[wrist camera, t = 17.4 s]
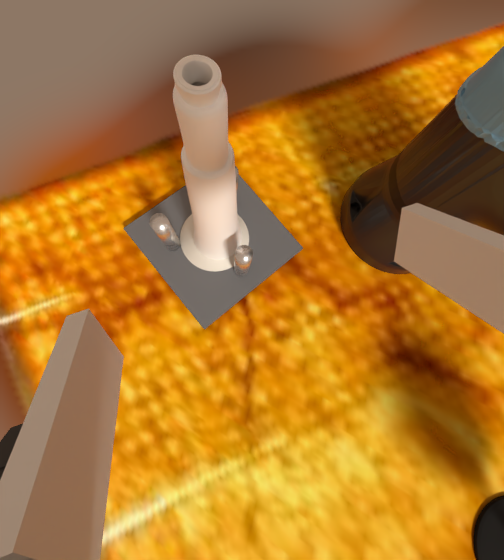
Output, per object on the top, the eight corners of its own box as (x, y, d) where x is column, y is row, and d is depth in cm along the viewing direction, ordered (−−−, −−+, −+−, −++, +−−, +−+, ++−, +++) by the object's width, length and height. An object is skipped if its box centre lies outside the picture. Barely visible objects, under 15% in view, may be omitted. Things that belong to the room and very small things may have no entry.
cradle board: (224, 163, 37) (224, 157, 36) (300, 250, 36) (303, 247, 35) (126, 231, 34) (122, 227, 33) (204, 329, 33) (204, 329, 32)
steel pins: (230, 193, 36) (230, 160, 29) (278, 248, 35) (290, 228, 28) (162, 242, 34) (145, 220, 27) (211, 302, 33) (206, 294, 26)
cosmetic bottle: (187, 222, 34) (113, 34, 13) (232, 208, 35) (236, 9, 13) (203, 266, 33) (152, 145, 12) (249, 250, 34) (281, 110, 12)
